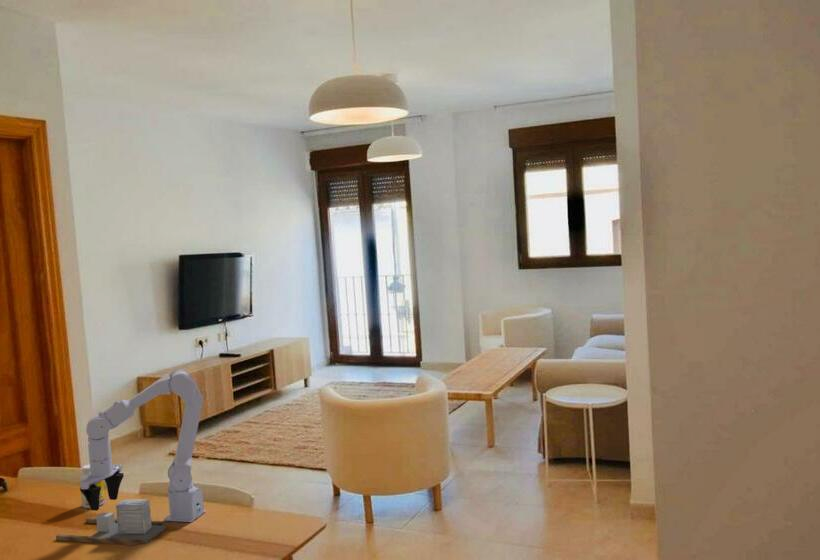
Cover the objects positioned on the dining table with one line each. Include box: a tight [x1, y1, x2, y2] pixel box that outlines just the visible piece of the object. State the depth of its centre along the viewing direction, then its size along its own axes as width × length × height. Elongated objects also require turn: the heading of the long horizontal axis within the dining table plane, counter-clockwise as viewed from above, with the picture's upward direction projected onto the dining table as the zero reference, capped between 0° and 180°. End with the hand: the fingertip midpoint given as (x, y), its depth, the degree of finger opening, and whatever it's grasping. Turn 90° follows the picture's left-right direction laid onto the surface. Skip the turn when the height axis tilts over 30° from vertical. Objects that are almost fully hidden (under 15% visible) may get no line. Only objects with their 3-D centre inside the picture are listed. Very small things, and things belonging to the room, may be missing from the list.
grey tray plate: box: [91, 511, 167, 544], centre depth 183 cm, size 18×9×5 cm, turn 76°
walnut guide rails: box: [55, 516, 164, 546], centre depth 185 cm, size 26×13×1 cm, turn 76°
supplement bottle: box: [79, 463, 106, 509], centre depth 207 cm, size 7×7×13 cm
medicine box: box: [115, 498, 152, 534], centre depth 183 cm, size 8×4×9 cm, turn 84°
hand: (104, 504), depth 185 cm, fingers open, 7 cm apart
